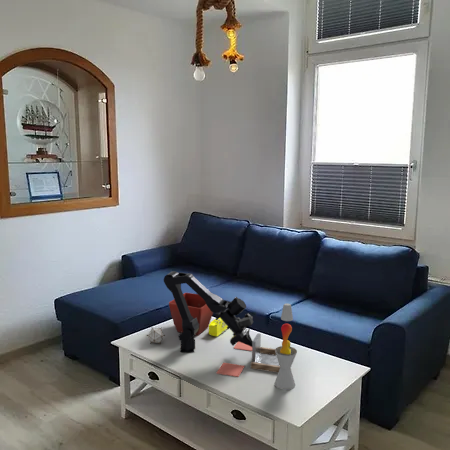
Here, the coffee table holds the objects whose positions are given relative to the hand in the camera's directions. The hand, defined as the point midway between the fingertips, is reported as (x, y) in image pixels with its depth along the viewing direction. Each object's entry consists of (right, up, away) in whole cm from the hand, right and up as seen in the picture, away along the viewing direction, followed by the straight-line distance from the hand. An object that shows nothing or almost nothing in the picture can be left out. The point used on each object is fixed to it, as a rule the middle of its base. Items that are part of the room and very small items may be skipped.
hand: (253, 346), depth 215 cm
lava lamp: (+12, -11, -21) cm, 26 cm away
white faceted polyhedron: (-48, -3, +18) cm, 51 cm away
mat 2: (-3, -4, +15) cm, 16 cm away
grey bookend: (+6, -7, -1) cm, 9 cm away
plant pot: (-30, 0, +35) cm, 46 cm away
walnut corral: (+8, -7, -1) cm, 11 cm away
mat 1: (-11, -8, -9) cm, 16 cm away
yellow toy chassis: (-16, -1, +33) cm, 37 cm away
